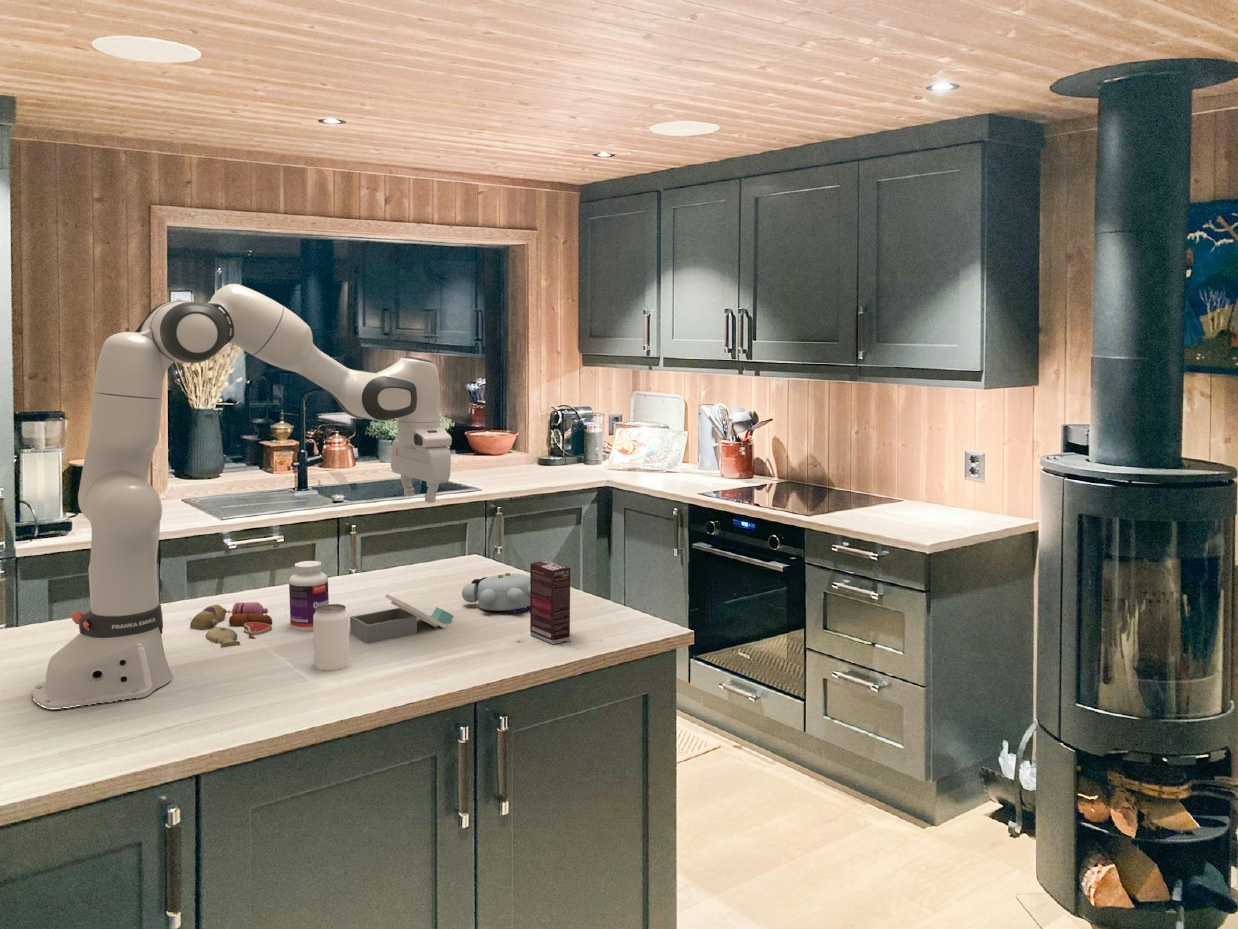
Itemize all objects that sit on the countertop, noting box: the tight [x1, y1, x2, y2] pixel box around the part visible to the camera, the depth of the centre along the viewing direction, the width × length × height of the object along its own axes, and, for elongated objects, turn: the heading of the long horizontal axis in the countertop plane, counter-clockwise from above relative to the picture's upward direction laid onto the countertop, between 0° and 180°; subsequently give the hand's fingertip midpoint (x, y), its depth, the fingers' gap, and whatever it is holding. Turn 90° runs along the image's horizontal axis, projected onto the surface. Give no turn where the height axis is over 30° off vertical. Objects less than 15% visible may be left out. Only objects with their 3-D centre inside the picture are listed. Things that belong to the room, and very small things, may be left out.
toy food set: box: [189, 601, 273, 648], centre depth 219 cm, size 26×16×4 cm, turn 42°
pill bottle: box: [288, 560, 330, 632], centre depth 218 cm, size 8×8×14 cm
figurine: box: [461, 572, 530, 615], centre depth 238 cm, size 17×8×20 cm
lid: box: [384, 593, 454, 629], centre depth 219 cm, size 14×9×4 cm
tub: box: [349, 607, 418, 645], centre depth 213 cm, size 11×8×4 cm
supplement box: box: [529, 559, 571, 645], centre depth 213 cm, size 9×5×16 cm, turn 39°
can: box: [312, 603, 350, 671], centre depth 193 cm, size 6×6×12 cm
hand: (419, 499), depth 215 cm, fingers open, 8 cm apart
